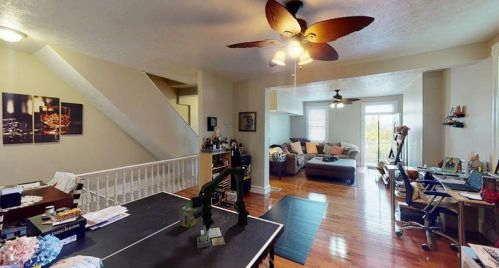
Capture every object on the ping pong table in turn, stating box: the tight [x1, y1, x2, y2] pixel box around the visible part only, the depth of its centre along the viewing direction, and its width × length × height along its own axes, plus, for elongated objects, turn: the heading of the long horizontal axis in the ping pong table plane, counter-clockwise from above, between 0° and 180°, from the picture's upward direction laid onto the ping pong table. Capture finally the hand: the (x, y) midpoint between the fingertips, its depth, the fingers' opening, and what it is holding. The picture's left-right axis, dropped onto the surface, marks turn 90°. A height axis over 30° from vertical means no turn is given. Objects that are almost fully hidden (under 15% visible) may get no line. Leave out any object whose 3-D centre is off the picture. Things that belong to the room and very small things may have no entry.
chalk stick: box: [203, 225, 211, 234], centre depth 127 cm, size 4×4×8 cm
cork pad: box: [210, 236, 226, 247], centre depth 119 cm, size 7×7×1 cm
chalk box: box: [178, 202, 199, 229], centre depth 140 cm, size 9×9×15 cm
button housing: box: [196, 235, 211, 249], centre depth 117 cm, size 7×7×2 cm
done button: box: [199, 234, 207, 243], centre depth 117 cm, size 4×4×3 cm
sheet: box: [200, 227, 223, 239], centre depth 128 cm, size 12×10×1 cm
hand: (207, 229), depth 127 cm, fingers closed on chalk stick, 4 cm apart
